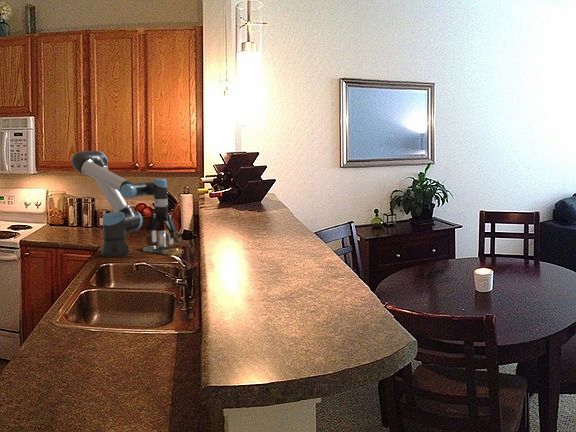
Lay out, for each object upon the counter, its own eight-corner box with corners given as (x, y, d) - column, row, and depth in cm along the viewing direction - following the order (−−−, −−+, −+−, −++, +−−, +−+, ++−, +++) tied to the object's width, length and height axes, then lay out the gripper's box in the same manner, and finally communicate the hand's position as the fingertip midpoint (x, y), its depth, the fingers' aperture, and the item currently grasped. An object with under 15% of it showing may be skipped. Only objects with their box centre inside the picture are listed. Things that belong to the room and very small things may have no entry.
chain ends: (143, 251, 315) (142, 246, 314) (153, 249, 321) (153, 244, 321) (173, 255, 302) (173, 250, 301) (183, 253, 308) (183, 248, 308)
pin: (157, 252, 311) (155, 231, 309) (162, 251, 315) (161, 230, 313) (162, 253, 308) (161, 232, 307) (168, 251, 312) (167, 231, 311)
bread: (171, 243, 340) (170, 227, 338) (182, 245, 333) (181, 229, 332) (146, 248, 325) (145, 231, 324) (157, 250, 319) (156, 233, 317)
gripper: (140, 205, 312) (142, 242, 314) (172, 208, 298) (173, 246, 301) (150, 204, 318) (152, 240, 321) (182, 206, 304) (183, 243, 307)
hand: (162, 243), depth 311 cm, fingers open, 13 cm apart
